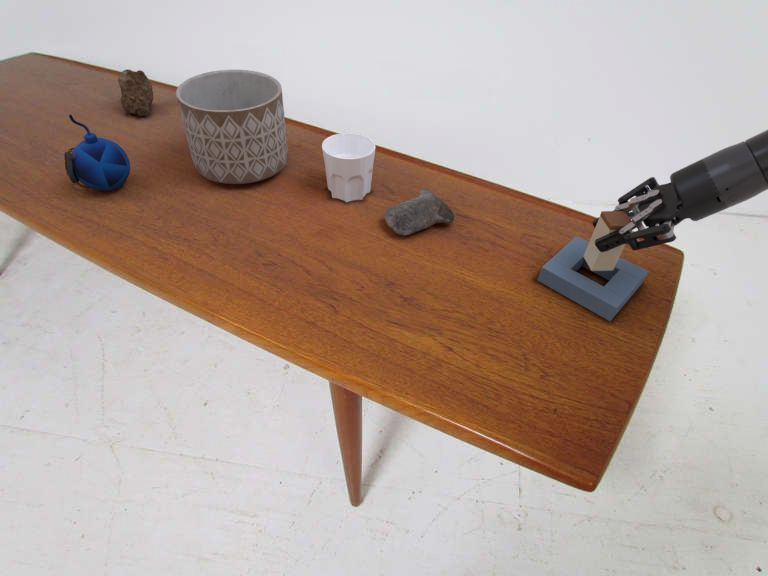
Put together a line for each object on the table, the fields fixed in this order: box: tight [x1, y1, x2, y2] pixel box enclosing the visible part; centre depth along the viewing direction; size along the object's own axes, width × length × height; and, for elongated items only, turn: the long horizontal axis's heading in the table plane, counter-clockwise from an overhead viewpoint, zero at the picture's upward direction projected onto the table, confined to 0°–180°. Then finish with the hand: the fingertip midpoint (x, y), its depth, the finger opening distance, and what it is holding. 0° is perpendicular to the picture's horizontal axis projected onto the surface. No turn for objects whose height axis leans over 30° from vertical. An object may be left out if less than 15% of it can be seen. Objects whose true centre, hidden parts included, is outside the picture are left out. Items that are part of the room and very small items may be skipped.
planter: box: [175, 69, 289, 185], centre depth 100 cm, size 19×19×16 cm
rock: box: [117, 69, 154, 118], centre depth 119 cm, size 10×6×10 cm
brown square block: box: [583, 210, 633, 272], centre depth 78 cm, size 4×4×9 cm
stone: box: [384, 188, 455, 237], centre depth 93 cm, size 12×5×10 cm
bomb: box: [64, 114, 131, 192], centre depth 92 cm, size 10×11×15 cm
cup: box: [321, 132, 377, 203], centre depth 97 cm, size 10×10×10 cm
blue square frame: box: [536, 235, 649, 322], centre depth 83 cm, size 13×12×3 cm
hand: (596, 236), depth 77 cm, fingers closed on brown square block, 4 cm apart
